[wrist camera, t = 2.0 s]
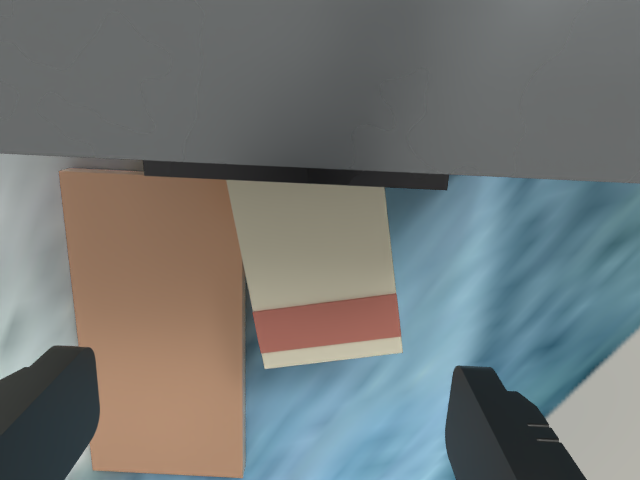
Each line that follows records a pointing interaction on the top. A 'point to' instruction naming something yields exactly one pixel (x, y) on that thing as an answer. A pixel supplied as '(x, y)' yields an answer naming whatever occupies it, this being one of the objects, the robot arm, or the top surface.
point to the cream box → (317, 270)
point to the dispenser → (328, 88)
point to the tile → (160, 319)
